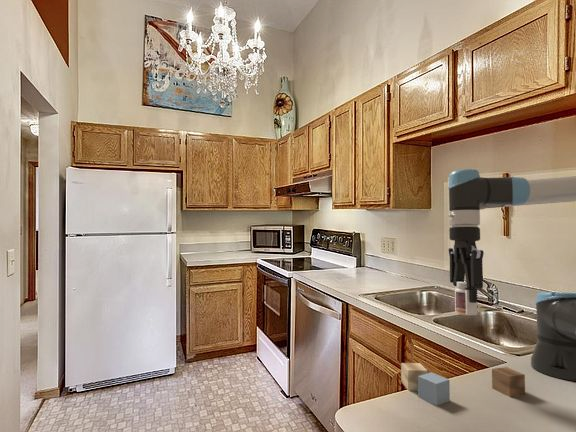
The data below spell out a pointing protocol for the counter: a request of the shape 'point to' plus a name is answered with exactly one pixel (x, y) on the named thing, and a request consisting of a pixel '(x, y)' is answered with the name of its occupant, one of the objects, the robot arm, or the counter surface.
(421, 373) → the maple cube
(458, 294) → the pill bottle
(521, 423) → the counter surface
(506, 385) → the walnut cube
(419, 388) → the slate blue cube
